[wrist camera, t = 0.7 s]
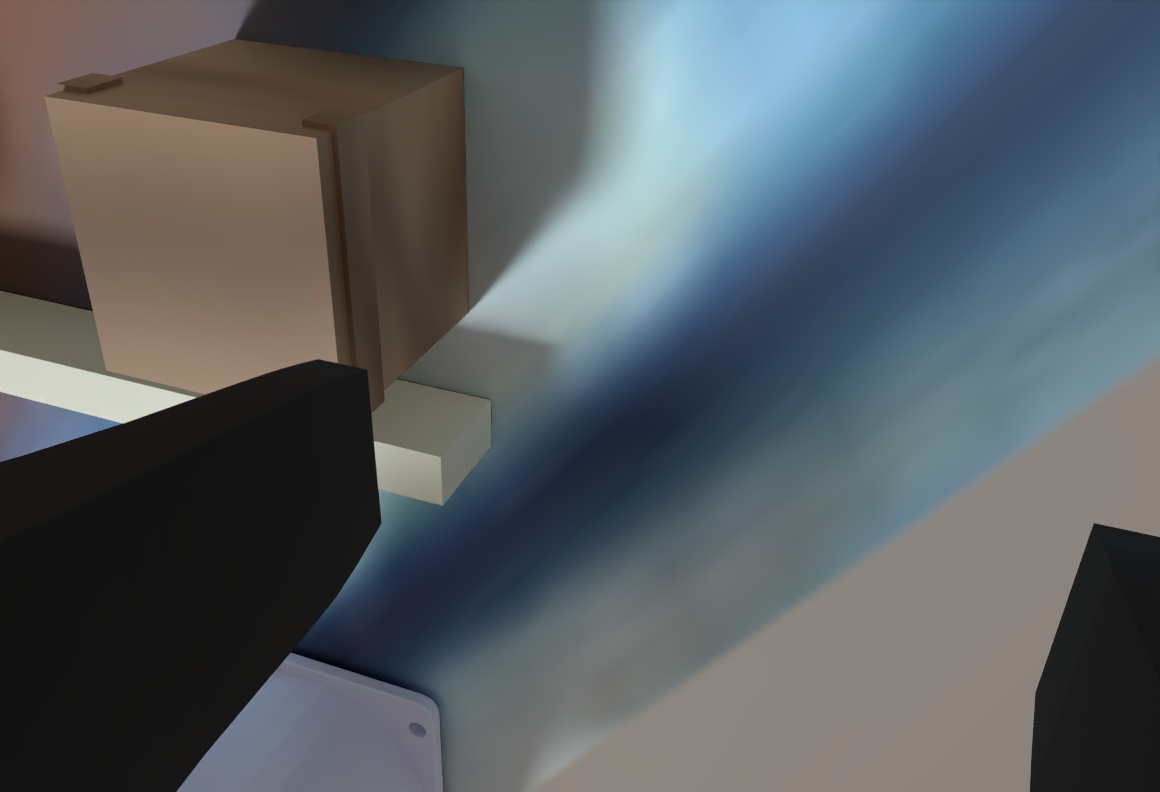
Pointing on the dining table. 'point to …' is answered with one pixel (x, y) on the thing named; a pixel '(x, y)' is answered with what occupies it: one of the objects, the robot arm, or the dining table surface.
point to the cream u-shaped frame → (81, 383)
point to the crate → (267, 211)
